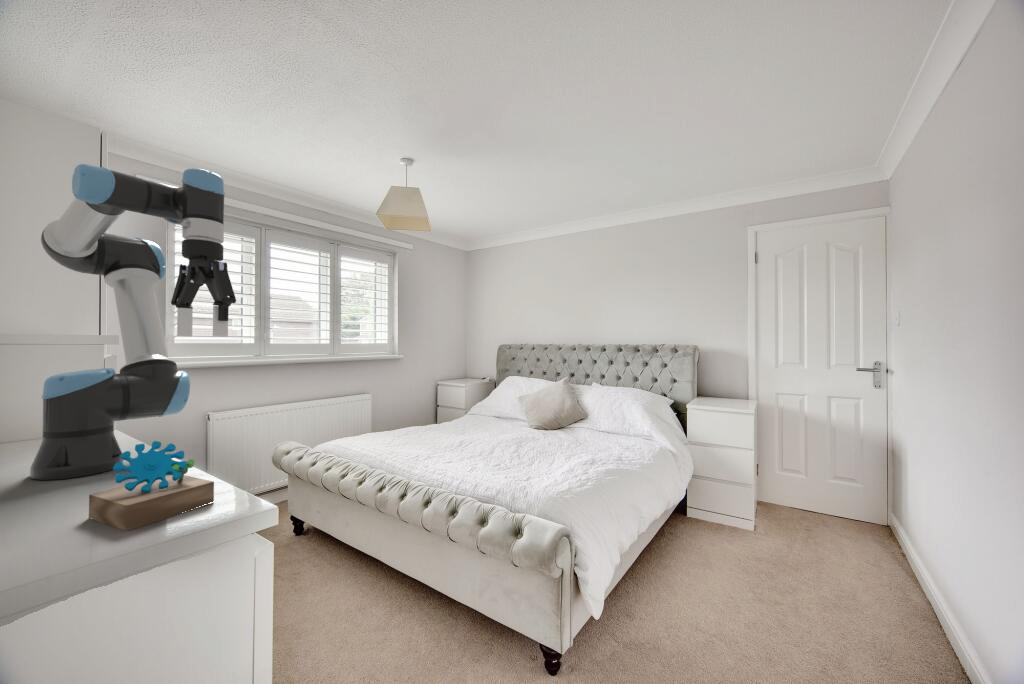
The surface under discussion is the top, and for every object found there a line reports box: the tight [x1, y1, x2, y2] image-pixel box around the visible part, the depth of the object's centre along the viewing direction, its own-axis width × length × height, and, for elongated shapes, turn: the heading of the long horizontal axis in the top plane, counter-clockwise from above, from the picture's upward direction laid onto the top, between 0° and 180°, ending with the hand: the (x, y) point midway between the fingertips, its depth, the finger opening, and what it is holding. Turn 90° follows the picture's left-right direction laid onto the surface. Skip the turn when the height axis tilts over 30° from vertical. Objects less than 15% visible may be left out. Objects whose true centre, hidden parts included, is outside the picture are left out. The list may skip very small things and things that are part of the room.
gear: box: [112, 440, 195, 493], centre depth 77 cm, size 11×6×10 cm
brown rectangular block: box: [88, 474, 215, 532], centre depth 75 cm, size 12×13×4 cm
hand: (202, 336), depth 95 cm, fingers open, 13 cm apart
